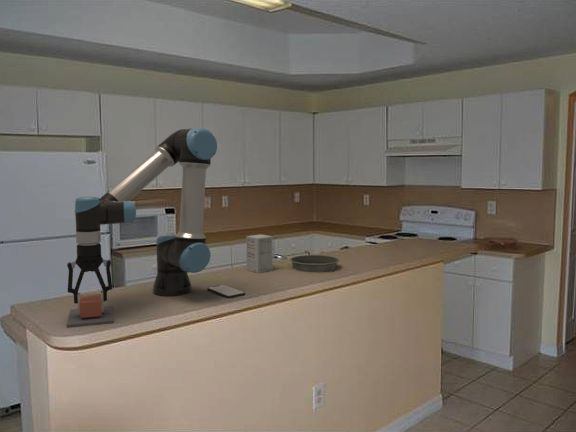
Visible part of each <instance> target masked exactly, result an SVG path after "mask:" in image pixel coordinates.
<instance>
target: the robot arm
mask: <svg viewBox="0 0 576 432" xmlns="http://www.w3.org/2000/svg"><path fill="white" fill-rule="evenodd" d="M214 135H215V134H213V133H212V132H211V131H210V130H208V129H206V128H205V127H204V128H203V127H202V128H201V127H193V128H183V129H179V130H176V131H174V132H173V133H172V134H170V135H169V136H167V138H165V139H164V140H163V141H161V143H159V145H157V146H156V147H155V149H154V150H155V151H154V152H153V153H152V154H151V155H149V156H148V157H147V158H146V159H145V160H143V161H142V162H141V163H139V165H137V167H135V168H134V169H133V170H132V171H130V172H129V173H128V174H127V175H126V176H125V177H124V178H122V179H121V180H120V181H119V182H118V183H117V184H115V185H114V186H113V187H112V188H111V189H110V190H108V191H107V192H106V193H104V194H103V195H102V196H100V198H99V197H98V196H79V197H77V198H75V201H74V215H75V238H76V240H75V241H76V242H75V243H76V259H75V260H74V261H69V262H67V266H66V267H67V269H68V278H67V279H68V281H67V293H69V294H73V303H74V304H77V309H78V314H80V296H81V292H79V290H80V286H81V283H82V280H83V277H84V274H85V273H88V272H94V273H95V276H96V278H97V280H98V282H99V285H100V287H101V290H100V294H101V307H102V312H104V305H105V303H104V302H107V301H108V291H111V290H113V282H112V274H111V264H112V260H111V259H104V258H103V257H102V245H101V241H102V237H101V231H102V230H101V225H103V226H104V225H114V224H128V223H134V221H135V220H136V218H137V217H136V216H137V208H136V205H135V204H134V202H132V201H131V200H132V199H133V198H134V197H136V196H137V195H138V194H140V192H141V191H143V190H144V189H145V188H146V187H147V186H149V184H150V183H152V182H153V181H155V179H156V178H157V177H159V176H160V175H161V174H162V173H163V172H164V171H165V170H166V169H168V168H169V167H174V166H175V165H176V164H177V163H178V164H179V166H181V167H182V180H181V181H182V183H181V197H180V198H181V199H180V213H179V214H180V215H179V217H180V218H179V229H178V232H177V233H176V234H170V235H169V234H167V235H160V236H158V237H157V238H156V266H157V267H156V275H155V276H156V277H155V279H154V283H153V286H152V294H154V295H157V296H163V297H164V296H165V297H173V296H176V297H177V296H183V295H186V294H189V293H191V292H192V283H191V280H190V277H189V275H188V274H189V273H191V274H195V273H200V272H202V271H203V270H204V269H205V268H206V267H208V265H209V264H210V263H209V262H210V261H211V256H212V255H211V251H210V248H209V247H208V245H207V243H206V242H207V237H206V235H205V234H204V233H203V227H204V226H203V225H204V210H205V209H204V208H205V196H206V195H205V192H206V175H207V169H208V168H210V166H211V163H212V161H211V160H212V158H213V157H214V156H215V155H216V153H217V150H218V142H217V139H216V137H215V136H214ZM102 264H103V266H104V267H105V271H106V278H107V280H106V281H107V285H106V283H105V281H104V279H103V276H102V273H101V271H100V269H99V268H100V266H101V265H102ZM76 265H77V267H78V268H79V269H80V270H79V271H80V272H79V275H78V278H77V281H76V283H75V286H74V288H73V278H74V269H75V267H76Z"/></svg>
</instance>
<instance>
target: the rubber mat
mask: <svg viewBox="0 0 576 432" xmlns="http://www.w3.org/2000/svg"><path fill="white" fill-rule="evenodd" d="M114 320H115V318H114V306H113V305H106V306H104V312H102V316H98V317H87V318H80V314H78V308H70V310H69V312H68V318H67V321H66V328H75V327H86V326H95V325H104V324H105V325H107V324H115V323H114V322H115V321H114Z"/></svg>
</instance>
